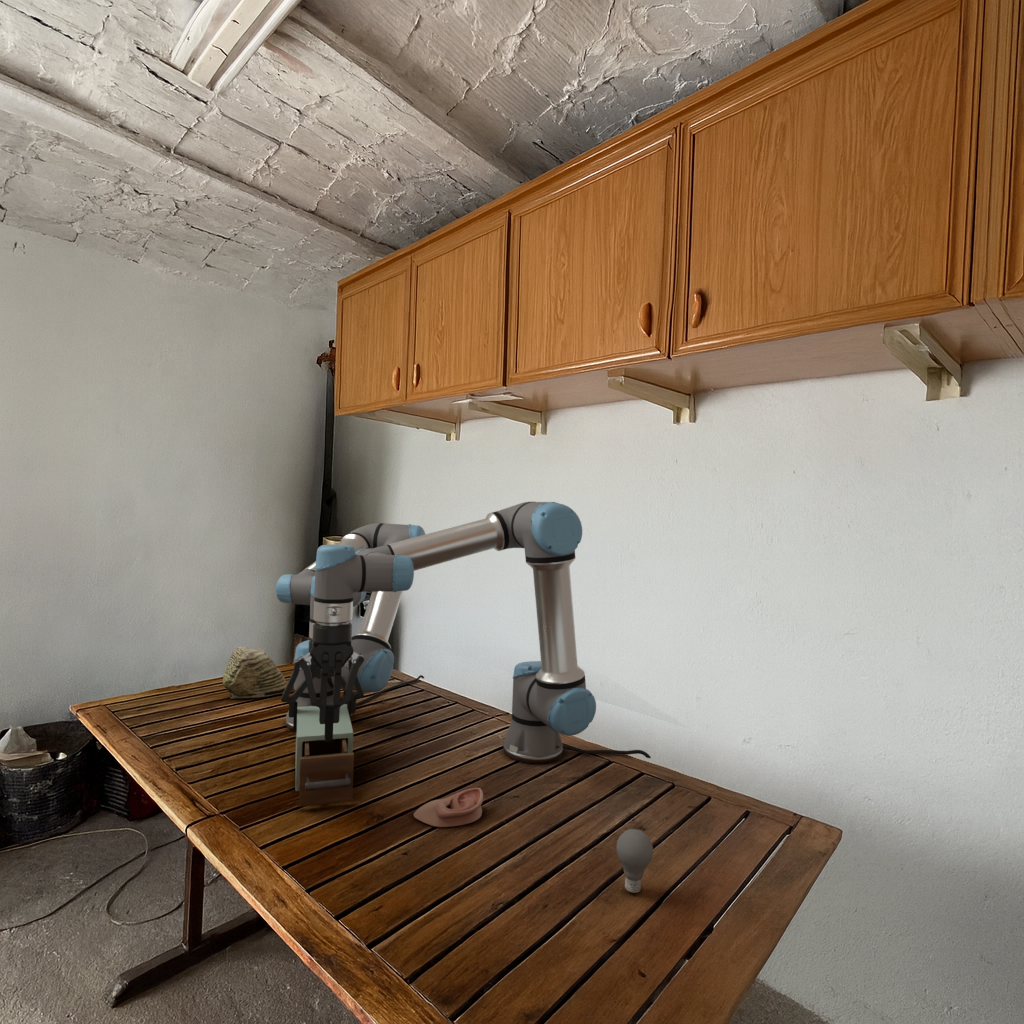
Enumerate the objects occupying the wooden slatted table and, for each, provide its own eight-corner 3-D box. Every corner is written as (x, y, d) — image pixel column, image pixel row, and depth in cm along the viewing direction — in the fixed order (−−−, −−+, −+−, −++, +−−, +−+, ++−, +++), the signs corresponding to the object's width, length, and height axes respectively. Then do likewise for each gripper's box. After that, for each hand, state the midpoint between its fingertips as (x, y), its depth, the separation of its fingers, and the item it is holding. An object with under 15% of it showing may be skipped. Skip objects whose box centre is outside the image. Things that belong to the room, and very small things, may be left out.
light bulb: (610, 879, 108) (613, 822, 108) (644, 879, 109) (647, 822, 109) (619, 902, 102) (622, 840, 102) (655, 901, 103) (658, 840, 103)
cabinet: (351, 785, 139) (353, 732, 139) (295, 791, 136) (297, 737, 135) (344, 750, 158) (346, 703, 158) (295, 754, 154) (297, 706, 154)
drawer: (354, 813, 125) (356, 764, 125) (298, 819, 122) (300, 770, 122) (345, 764, 148) (347, 723, 148) (298, 768, 144) (299, 726, 144)
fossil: (218, 695, 195) (220, 647, 195) (278, 685, 208) (279, 640, 207) (228, 703, 189) (230, 653, 188) (289, 692, 201) (290, 645, 201)
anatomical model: (408, 802, 124) (427, 778, 135) (407, 822, 124) (427, 796, 136) (473, 812, 122) (488, 786, 133) (473, 832, 122) (487, 805, 133)
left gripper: (271, 644, 145) (268, 738, 146) (377, 640, 153) (374, 729, 153) (272, 637, 152) (269, 726, 153) (373, 634, 160) (370, 719, 160)
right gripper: (298, 626, 121) (294, 749, 121) (368, 625, 125) (363, 743, 126) (298, 619, 128) (294, 734, 128) (364, 617, 132) (359, 730, 133)
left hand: (321, 728), depth 153 cm, fingers closed on cabinet, 12 cm apart
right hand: (328, 739), depth 127 cm, fingers closed
